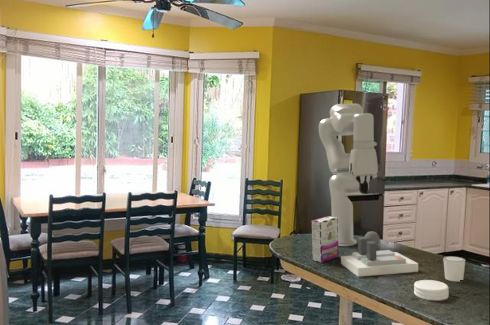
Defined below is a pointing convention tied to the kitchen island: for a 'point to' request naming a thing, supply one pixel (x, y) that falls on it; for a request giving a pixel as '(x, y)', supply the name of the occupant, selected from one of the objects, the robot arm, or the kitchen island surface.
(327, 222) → the candy bar box
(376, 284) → the kitchen island surface
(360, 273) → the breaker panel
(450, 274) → the light grey cup
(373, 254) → the handle
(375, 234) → the light bulb
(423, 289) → the white ribbed round piece
